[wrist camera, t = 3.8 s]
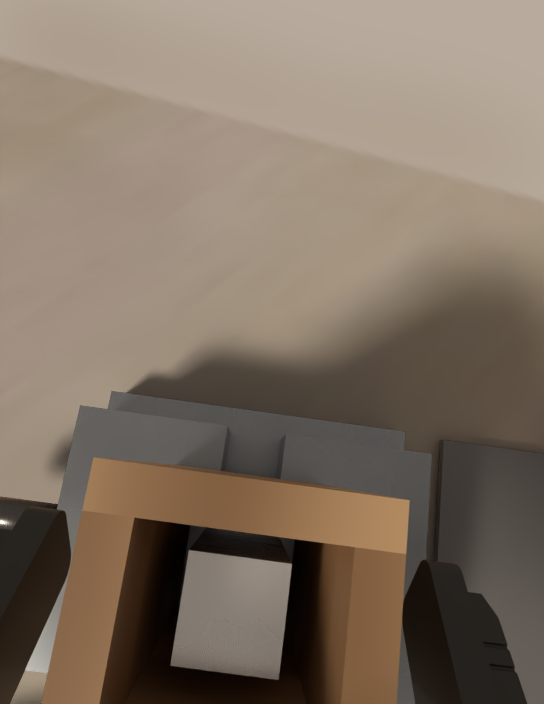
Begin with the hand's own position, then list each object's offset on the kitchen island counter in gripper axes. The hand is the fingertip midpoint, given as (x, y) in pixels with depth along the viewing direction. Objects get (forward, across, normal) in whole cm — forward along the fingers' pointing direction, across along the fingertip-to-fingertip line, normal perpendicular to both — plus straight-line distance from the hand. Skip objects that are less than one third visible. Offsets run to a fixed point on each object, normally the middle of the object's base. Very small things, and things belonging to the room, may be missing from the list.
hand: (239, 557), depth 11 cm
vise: (+6, +2, +7) cm, 10 cm away
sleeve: (+3, 0, +4) cm, 5 cm away
